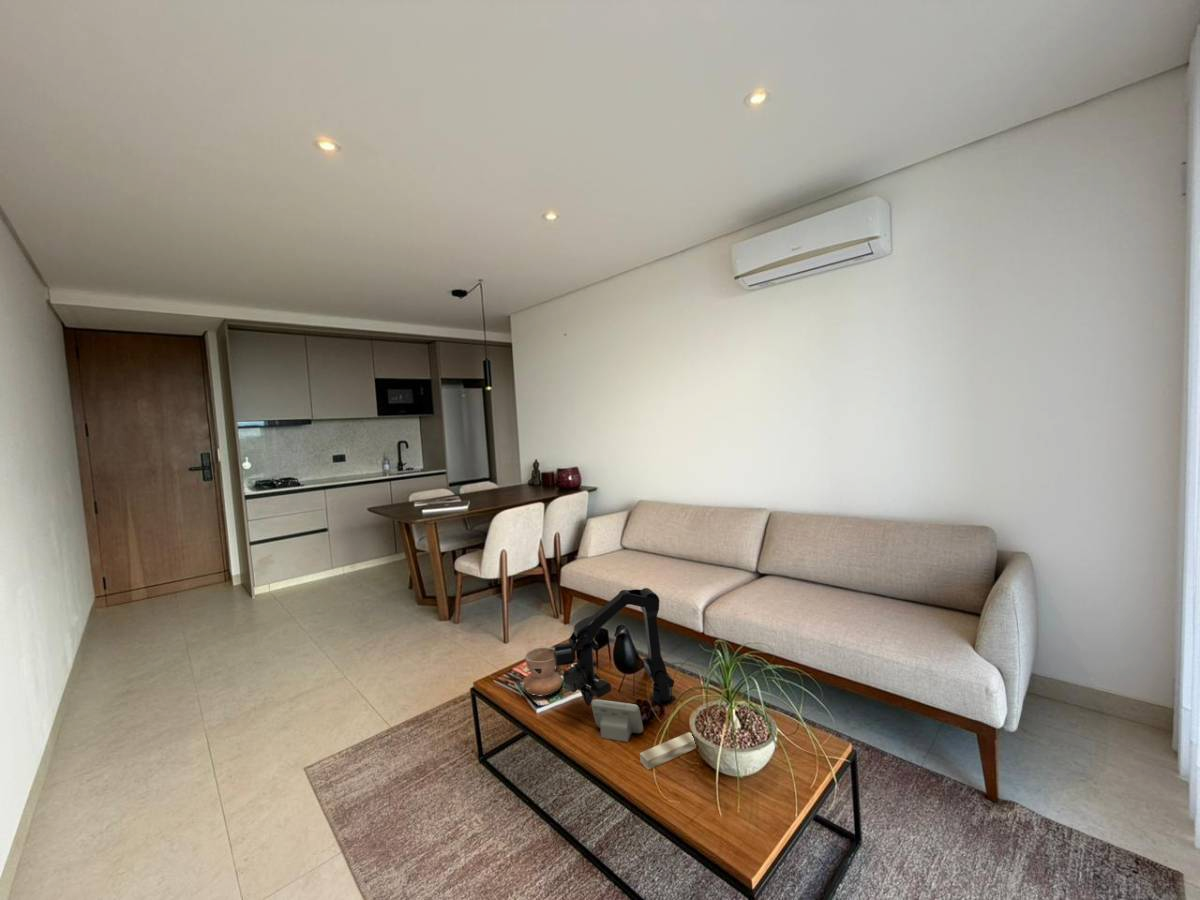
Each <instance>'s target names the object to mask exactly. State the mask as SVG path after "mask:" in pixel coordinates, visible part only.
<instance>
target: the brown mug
mask: <svg viewBox="0 0 1200 900" xmlns="http://www.w3.org/2000/svg"><path fill="white" fill-rule="evenodd" d="M554 649H555V647H551V646H540V647H534V648H532V649H530V650H528V651H527V652H526V653H525V655H524V659H525V660H524V661H525V663H526V666H527V667H524V668H523V669H522V672H523V674H527V673H529V672H530V673H529V674H527V676H526V677H525V678H524V679H523V689H524V690H526V691H527V692H528V693H531V694H535V695H546V694H551V693H553V692H555V691H556V692H557V691H559V690H558V689H560V688H561V687H562V684H563V678H562V676H561V675H560V670H561V668H562V666H558V667H556V666H555V661H554ZM526 691H525V692H526ZM527 692H526V693H527ZM556 692H555V693H556ZM528 693H527V694H528ZM553 694H554V693H553ZM551 695H552V694H551Z"/></svg>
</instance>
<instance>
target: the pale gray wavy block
mask: <svg viewBox="0 0 1200 900" xmlns="http://www.w3.org/2000/svg"><path fill="white" fill-rule="evenodd" d="M692 734H693V733H691V732H690V731H689V732H685V733H684V734H681V735H678V736H677V737H674V738H672V739H669V740H666V741H665V742H662V743H660V744H657V745H655V746H653V747H651V748H648V749H645V750H644V751H642V752H640V753H639V757H640V759H639V762H640V763H641V764H642V765H643V766H644V767H645V768H646V769H647V770H652V769H653V768H655V767H658V766H660V765H662V764H665V763H666V762H668V761H671V760H673V759H676V758H677V757H679V756H683V755H684V754H686V753H688V752H690V751H693V750H696V749H697V748H696V744H695V741H694V738H693V736H692Z"/></svg>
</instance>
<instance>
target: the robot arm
mask: <svg viewBox="0 0 1200 900" xmlns="http://www.w3.org/2000/svg"><path fill="white" fill-rule="evenodd" d="M628 605H632V606H636V607H639V608H640V609H641V611H642V614H643V617H644V627H645V636H646V637H645V638H646V646H647V648H646V649H647V657H645V658H642V660H643V664H644V665H643V669H644V671H645V672H646V674H647V675H648V677H649V678H650V679H651V680H652V682H653V689H652V694H653V695H652V697H651V698H650V700H651V701H653V702H655V703H656V704H659V705H661V706H663V707H666V706H667V705H668V704H670V703H672V702H673V701H675V700H676V696H674V695H673V687H674V684H675V681H674V679H673V678H672V676H671V675H670V674H669V673H668V671H667V668H666V664H665V661H664V659H663V657H662V652H661V642H660V635H659V633H660V632H659V624H658V613H659V611H660V598H659V596H658V595H657V594H656V592H654V591H653V590H652V589H650V588H648V587H645V588H642V589H636V588H635V589H621V590H620V591H619V592H618V594H616V595H615V596H614V597H613V598H612V599H611V600H609V601H608V602H607V603H606V604H605V605H603V606H602V607H601V608H600V609H598V610H597V611H596V612H595V613H594V614H592V615H590V616H588V617H585V618H583V619H581V620H579V621H577V623H575V625H574V626H573V632H572V633H571V635H570V636H569V638H568V640H567V641H568V642H567V643H562V644H555V645H554V661H555V668H556V667H558V666H561V667H563V666H568V665H572V664H573V666H572V667H570V668H568V669H566V670H565V671H564V672H563V674H562V675H563V676H562V677H563V679H562V683H563V684H564V686H565V689H566V690H568V691H570V692H571V693H576V692H577V691H580V693H581V695H582V697H583V701H584V704H585V706H587V707H590V706H591V702H592V700H594V699H593V698H594V697H596V699H597V698H601V697H604V696H605V695H607V694H609V693H610V692H612V684H611V683H610V682H608V681H606V680H604V679H600V680H598V679H597V678H598V673H596V672H595V667H596V666H597V662H596V661H595V659H594V649H595V648H599V644H598V642H597V641H596V640H595V638H596V637H597V635H598V633H599V632H600V630H601V628H603V626H604V625H605V624H606V623H608V622H609V621H610V620H611V619H613V617H615V616H616V615H617V614H618V613H619V612H621V611H622V610H623V609H624V608H625V607H626V606H628ZM575 661H576V663H575Z"/></svg>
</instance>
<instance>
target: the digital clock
mask: <svg viewBox="0 0 1200 900" xmlns="http://www.w3.org/2000/svg"><path fill="white" fill-rule="evenodd" d="M590 706H591V709H592V713H593V717H594V722H595V725H596V727H597V728H599V729H600V738H601V739H604V740H605V739H607V740H613V741H618V742H625V743H628V742H629V740H630V738H631V735H632V734H633V733H634V734H641V733H642V732H643V731H644V724H643V721H642V720H643V719H642V715H641V710H640V707H639V706H638V705H637V704H634V703H627V702H621V701H613V700H605V699H597V698H595V699H592V701H591V704H590Z"/></svg>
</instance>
